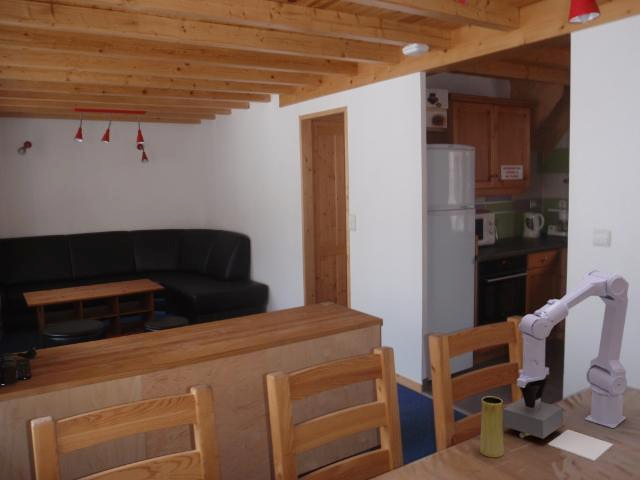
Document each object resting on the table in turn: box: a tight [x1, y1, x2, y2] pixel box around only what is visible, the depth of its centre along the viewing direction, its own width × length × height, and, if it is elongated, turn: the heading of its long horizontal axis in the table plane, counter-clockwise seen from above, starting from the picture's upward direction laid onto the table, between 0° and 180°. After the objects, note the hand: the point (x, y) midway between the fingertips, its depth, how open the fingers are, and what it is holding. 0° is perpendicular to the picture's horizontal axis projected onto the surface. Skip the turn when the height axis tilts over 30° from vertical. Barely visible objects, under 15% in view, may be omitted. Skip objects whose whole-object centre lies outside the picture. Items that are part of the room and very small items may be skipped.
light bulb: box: [519, 431, 531, 439], centre depth 152 cm, size 3×6×4 cm, turn 126°
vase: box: [479, 395, 505, 458], centre depth 143 cm, size 6×6×14 cm
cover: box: [503, 396, 564, 440], centre depth 153 cm, size 12×12×8 cm
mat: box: [547, 429, 614, 462], centre depth 146 cm, size 12×12×1 cm
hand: (532, 405), depth 153 cm, fingers closed on cover, 3 cm apart
